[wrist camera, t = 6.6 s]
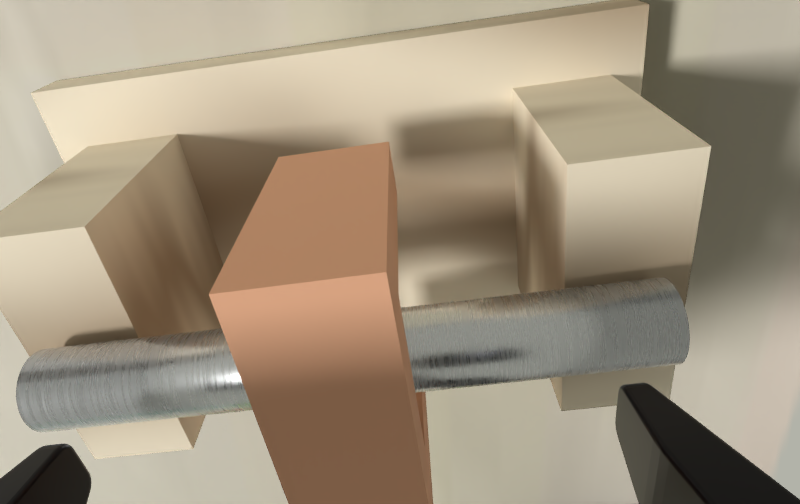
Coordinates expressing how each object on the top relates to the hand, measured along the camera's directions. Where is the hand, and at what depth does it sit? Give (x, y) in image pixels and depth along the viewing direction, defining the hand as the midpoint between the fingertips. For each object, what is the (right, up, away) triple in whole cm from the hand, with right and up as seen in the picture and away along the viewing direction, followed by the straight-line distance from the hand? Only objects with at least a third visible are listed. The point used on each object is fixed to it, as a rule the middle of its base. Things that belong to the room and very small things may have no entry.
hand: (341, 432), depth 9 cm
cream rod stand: (0, +5, +7) cm, 9 cm away
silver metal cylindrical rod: (0, +1, +2) cm, 3 cm away
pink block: (0, +3, +4) cm, 5 cm away
